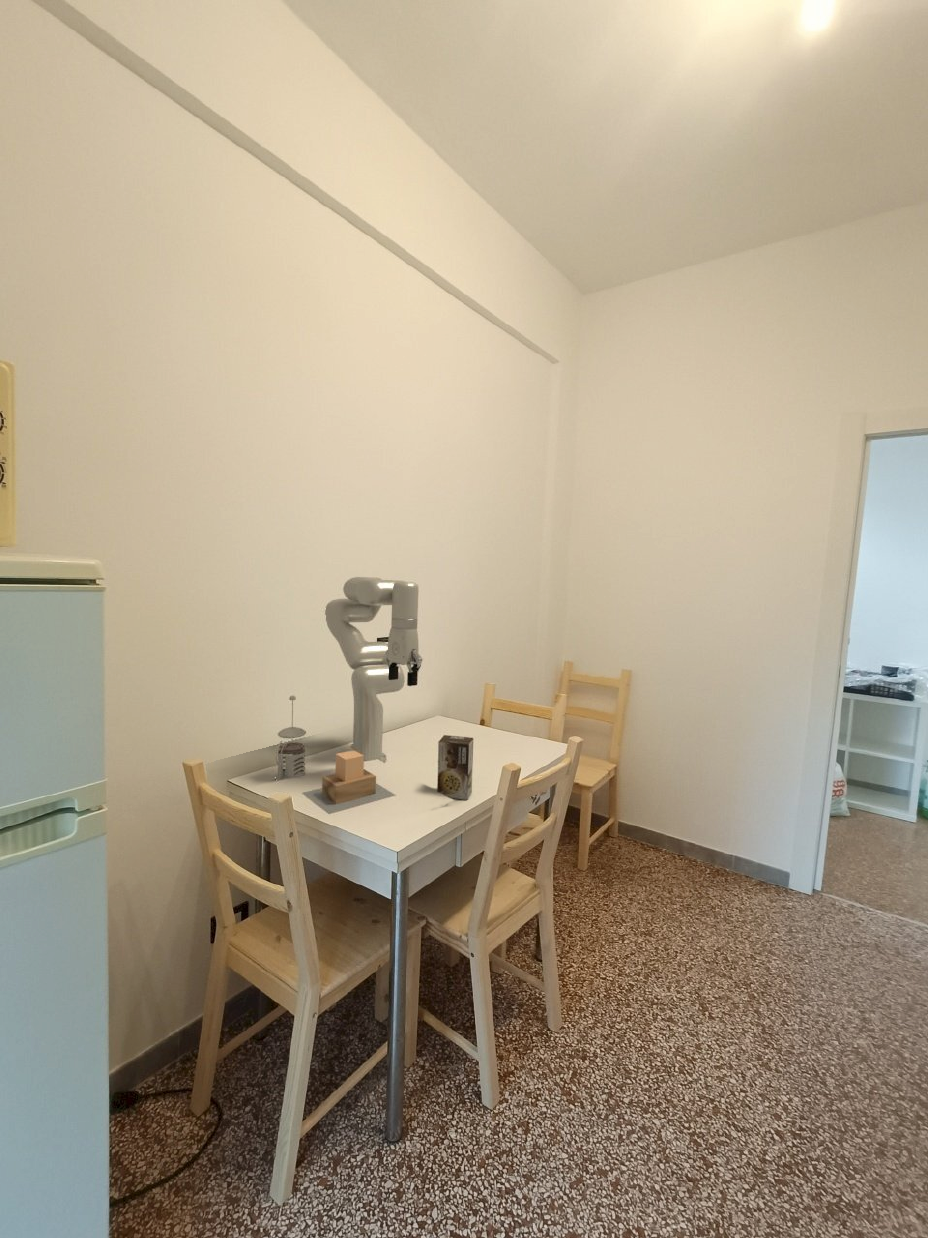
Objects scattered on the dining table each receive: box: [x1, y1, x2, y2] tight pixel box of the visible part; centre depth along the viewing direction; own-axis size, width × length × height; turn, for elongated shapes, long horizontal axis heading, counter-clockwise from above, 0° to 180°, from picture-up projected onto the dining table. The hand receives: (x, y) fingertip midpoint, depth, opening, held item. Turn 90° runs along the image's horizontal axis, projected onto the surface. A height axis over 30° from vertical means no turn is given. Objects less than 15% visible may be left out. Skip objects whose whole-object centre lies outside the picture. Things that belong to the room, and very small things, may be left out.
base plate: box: [301, 783, 396, 815], centre depth 149 cm, size 16×20×2 cm
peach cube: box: [334, 749, 365, 782], centre depth 148 cm, size 6×6×6 cm
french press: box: [274, 695, 307, 782], centre depth 161 cm, size 10×12×25 cm
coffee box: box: [436, 734, 474, 800], centre depth 155 cm, size 9×6×16 cm
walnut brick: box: [321, 769, 377, 804], centre depth 149 cm, size 8×12×5 cm, turn 131°
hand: (402, 682), depth 160 cm, fingers open, 9 cm apart
